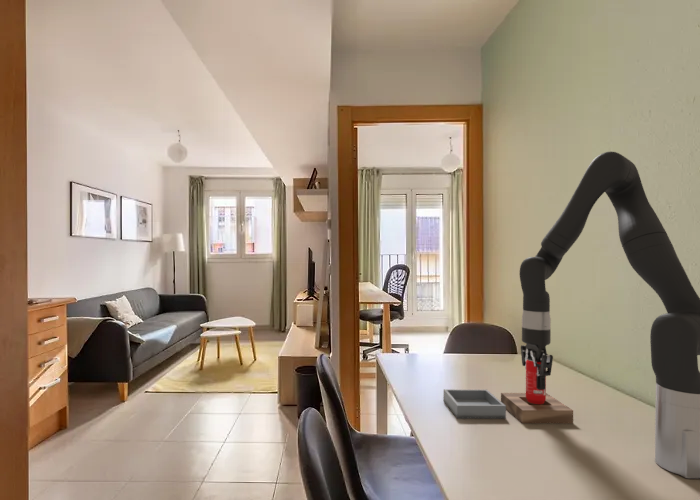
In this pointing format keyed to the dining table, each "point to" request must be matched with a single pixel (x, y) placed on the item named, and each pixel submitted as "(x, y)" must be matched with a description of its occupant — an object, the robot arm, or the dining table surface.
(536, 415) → the socket holder
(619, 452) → the dining table surface
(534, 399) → the beverage can
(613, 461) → the dining table surface
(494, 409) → the tray
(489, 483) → the dining table surface
